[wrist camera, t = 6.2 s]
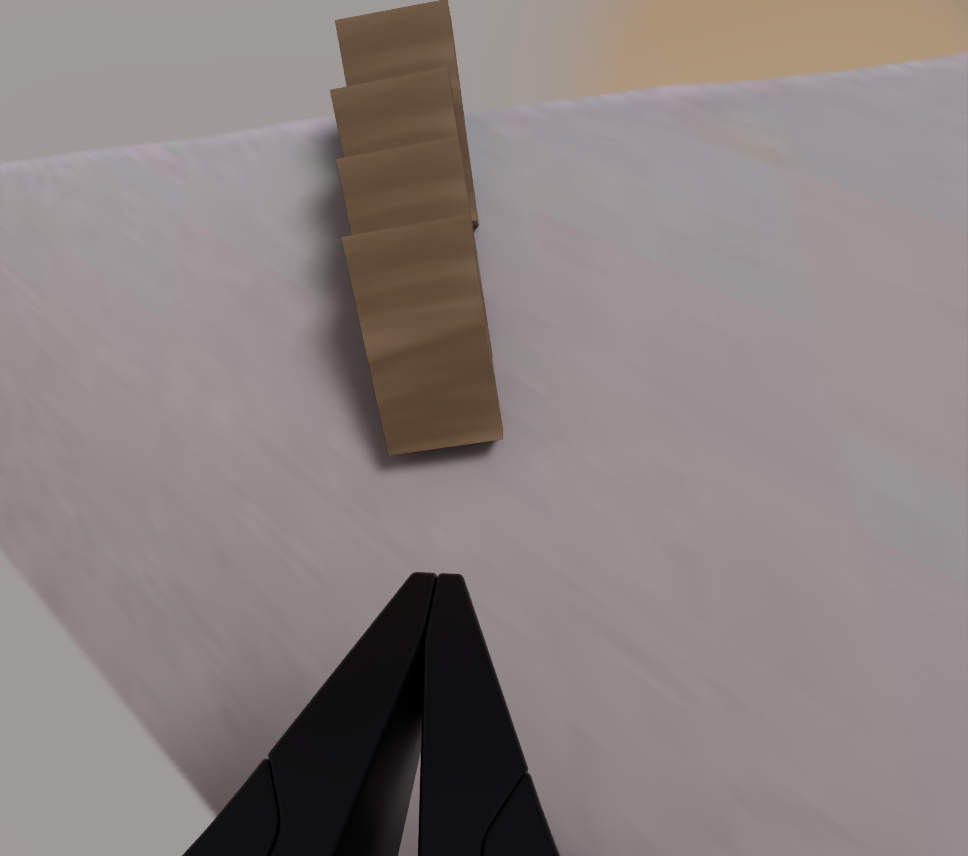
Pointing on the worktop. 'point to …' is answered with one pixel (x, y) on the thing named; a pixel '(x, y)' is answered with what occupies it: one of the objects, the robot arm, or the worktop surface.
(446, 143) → the domino
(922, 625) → the worktop surface
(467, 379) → the domino
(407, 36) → the domino
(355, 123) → the domino
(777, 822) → the worktop surface
